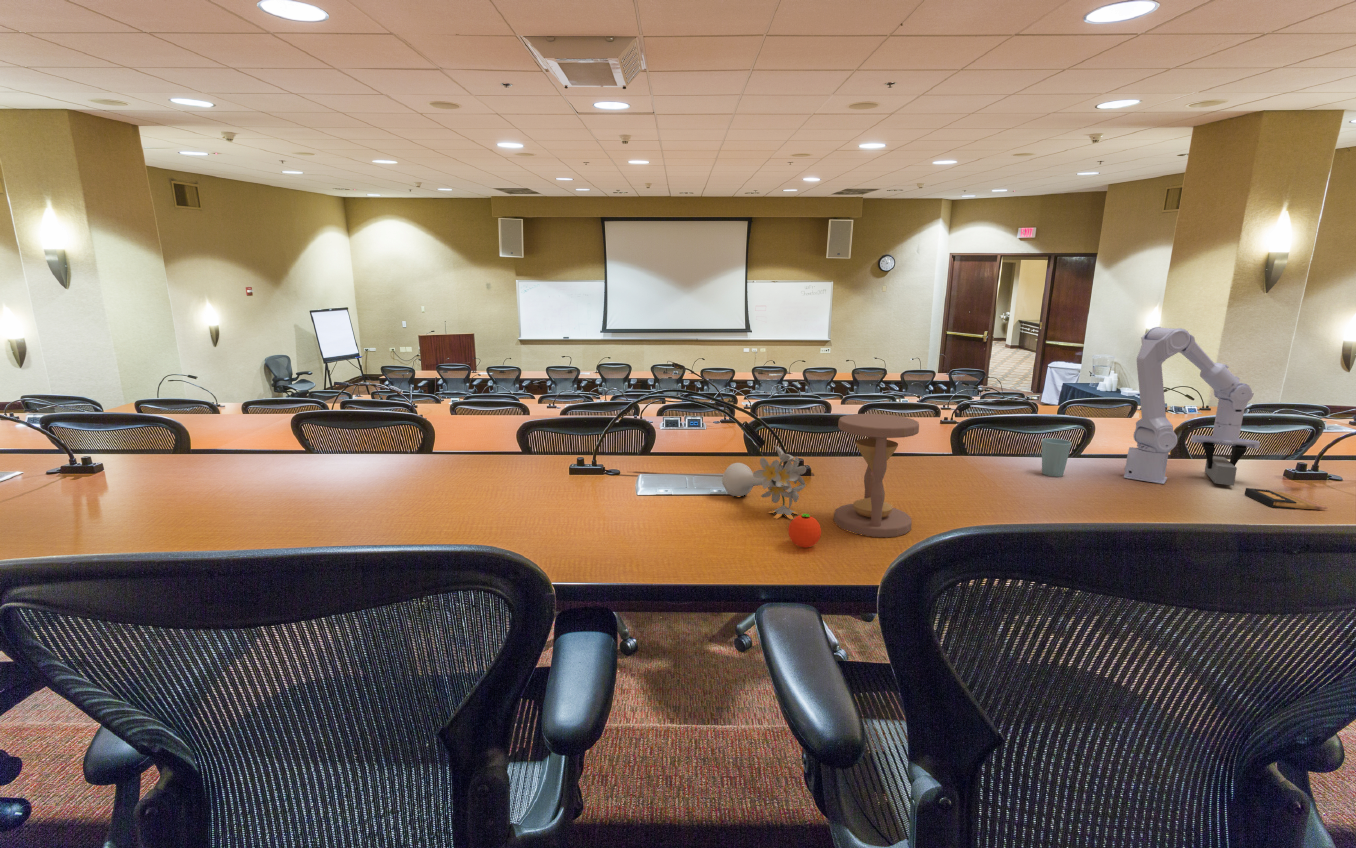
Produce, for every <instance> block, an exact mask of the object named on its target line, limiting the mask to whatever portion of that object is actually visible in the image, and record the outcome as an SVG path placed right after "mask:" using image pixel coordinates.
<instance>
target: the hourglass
mask: <svg viewBox="0 0 1356 848" xmlns="http://www.w3.org/2000/svg"><path fill="white" fill-rule="evenodd" d="M837 423H838V424H837V425H838V430H839V429H840V431H841V432H844V433H847V434H849V435H855V436H860V437H864V438H859V439H857V440H855V445H856V448H857V450H858V451H859V453H860V454H861V456H862V458H863V459H864V461H865V462H866V464H867V467H866V470H865V472H864V475H863V483H864V485H863V486H864V495H863V496H864V498H862V499H857V500H855V501H853V503H847V504H844V505H840V506H839V507H837V508H835V510H834V513H833V522H834V521H835V522H836V523H835V522H834V523H835V524H837V525H839V526H840V527H841V528H840V527H839V528H840V529H842V528H843V529H842V530H844V529H845V530H848V531H851V532H854V533H857V534H856V535H858V534H862V535H861V536H863V535H867V536H866V537H869V536H872V537H871V538H883V537H885V538H896V536H897V537H900V536H903V534H904V535H906V534H908V533H909V532H910V531H911V530H912V517H911V516H910V515H909V514H908V513H907V512H905V511H903V510H901V509H899V508H896V507H893V505H892V504H891V503H889V502H887V501H885V497H886V494H885V493H886V492H885V487H884V484H883V483H884V482H883V480H884V476H885V474H886V472H887V467H888V464H887V463H888V460H890V458H891V457H892V456H893V454H894V453H895V452H896V451H897V449H898V446H899V443H898V442H897V441H895V440H890V439H896V438H897V439H898V438H899V439H900V438H908V437H914V436H915V435H917V434H919V432H920V423H919V421H917V420H915V419H914V418H909V417H906V416H900V415H894V414H884V413H855V414H847V415H844V416H840V417H839V418H838V422H837ZM866 437H867V438H866ZM837 525H836V526H837ZM845 530H844V531H845ZM848 531H847V532H848ZM851 532H850V533H851ZM854 533H853V534H854ZM899 535H900V536H899Z"/></svg>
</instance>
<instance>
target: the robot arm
mask: <svg viewBox="0 0 1356 848" xmlns="http://www.w3.org/2000/svg"><path fill="white" fill-rule="evenodd" d="M1140 339H1141V346H1140V348H1139V352H1138V355H1137V357H1136V367H1137V368H1136V369H1137V380H1138V381H1137V382H1138V390H1139V392H1138V393H1139V401H1140V402H1139V403H1140V412H1141V418H1140V419H1139V420H1137V421H1136V422H1135V430H1134V432H1133V440H1134V441H1135V443H1136V447H1132V446H1131V447H1129V448H1128V451H1127V455H1126V460H1125V461H1126V462H1125V465H1124V475H1123V478H1124V479H1129V480H1136V481H1142V482H1148V483H1155V484H1163V485H1164V484H1165V483H1166V482H1167V480H1168V476H1166V472H1167V466H1168V459H1169V453H1171V451H1172V450H1173V449H1174V448H1175V447H1176V446H1177V444H1178V436H1177V434H1176V433H1175V430H1174V426H1173V424H1172V423H1171V421H1170V420H1169V419H1168V418H1167V415H1166V414H1167V412H1166V403H1165V390H1164V378H1163V377H1164V376H1163V366H1162V364H1163V363H1164V362H1166V360H1167V359H1169V358H1171V357H1173V356H1175V355H1177V354H1178V353H1180V354H1181V355H1182V356H1184V357H1185V358H1186V359H1187V360H1188V361H1189V362H1191V363H1192V364H1193V365H1194V366H1195V367H1197V369H1199V370H1200V373H1199V376H1200V378H1201V379H1202V380H1203V381H1204V382H1205V383H1207V384H1206V385H1208V386H1209V387H1210V388H1211V389H1212V390H1213V395H1214V397H1215V398H1216V399H1218V402H1217V408H1216V412H1215V417H1214V418H1215V420H1214V424H1213V429H1212V430H1213V431H1212V435H1198V434H1197V435H1196V434H1195V435H1194V434H1192V435H1191V440H1190V442H1191V443H1195V444H1197V443H1198V444H1199V443H1200V444H1201V445H1202V447H1203V451H1204V453H1205V458H1206V460H1207V468H1208V469H1211V468H1212V460H1213V456H1215V455H1214V454H1215V451H1216V447H1215V445H1221V446H1229V447H1230V446H1231V451H1230V452H1231V453H1230V460H1229V462H1231V463H1232V464H1233V465H1234V466H1235V467H1236V464H1237V463H1238V461H1239V460H1240V459H1241V458H1242V457H1243V456H1244V454H1246V452H1247V451H1248V449H1247V448H1252V449H1256V450H1259V449H1260V444H1261V442H1260V441H1259V440H1253V439H1245V438H1240V435H1241V429H1242V424H1243V417H1244V412H1245V409H1246V408H1247V406H1248V403H1249V402H1250V401H1251V400H1252V398H1253V397H1254V393H1253V391H1252V388H1251V386H1250V385H1249V384H1247V383H1244V382H1241V381H1240V377H1238V376H1237V375H1236V376H1235V375H1234V374H1233V373H1232V371H1230V369H1229V368H1230V367H1229V366H1228V365H1227V364H1225V363H1221V362H1214V361H1213V359H1211V357H1210V356H1209V355H1208V354H1207V353H1206V352H1205V351H1204V349H1202V347H1201V346H1200V345H1199V344H1198V343H1197V342H1196V339H1195V335H1192V334H1190V332H1189V331H1188V330H1187V329H1185V328H1182V327H1178V328H1171V327H1170V328H1169V327H1161V326H1155V327H1151V328H1150V329H1149V330H1147V332H1146V333H1144V334H1143V335H1142V337H1140Z"/></svg>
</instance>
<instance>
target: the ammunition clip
mask: <svg viewBox="0 0 1356 848" xmlns="http://www.w3.org/2000/svg"><path fill="white" fill-rule="evenodd" d="M1244 495H1245V496H1247V497H1249V498H1251V499H1253V500H1256V501H1258V502H1260V503H1262V504H1264V505H1266V506H1268V507H1269V508H1281V509H1290V510H1295V509H1299V510H1300V509H1301V510H1327V509H1328V507H1327V506H1324V505H1323V504H1321V503H1317V502H1315V501H1312V500H1310V499H1308V498H1306V497H1303V496H1302V495H1298V494H1295V493H1294V494H1293V493H1289V492H1288V493H1287V492H1283V491H1273V490H1269V489H1261V488H1250V487H1245V490H1244Z"/></svg>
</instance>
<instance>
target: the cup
mask: <svg viewBox="0 0 1356 848" xmlns="http://www.w3.org/2000/svg"><path fill="white" fill-rule="evenodd" d="M1071 446H1072V441H1070V440H1067V439H1061V438H1052V437H1050V438H1047V437H1046V438H1042V439H1041V474H1042V475H1043V476H1048V477H1057V478H1060V477H1063V476H1064V474H1065V470H1066V466H1067V462H1068V459H1069V454H1070V450H1071V448H1072V447H1071Z"/></svg>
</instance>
